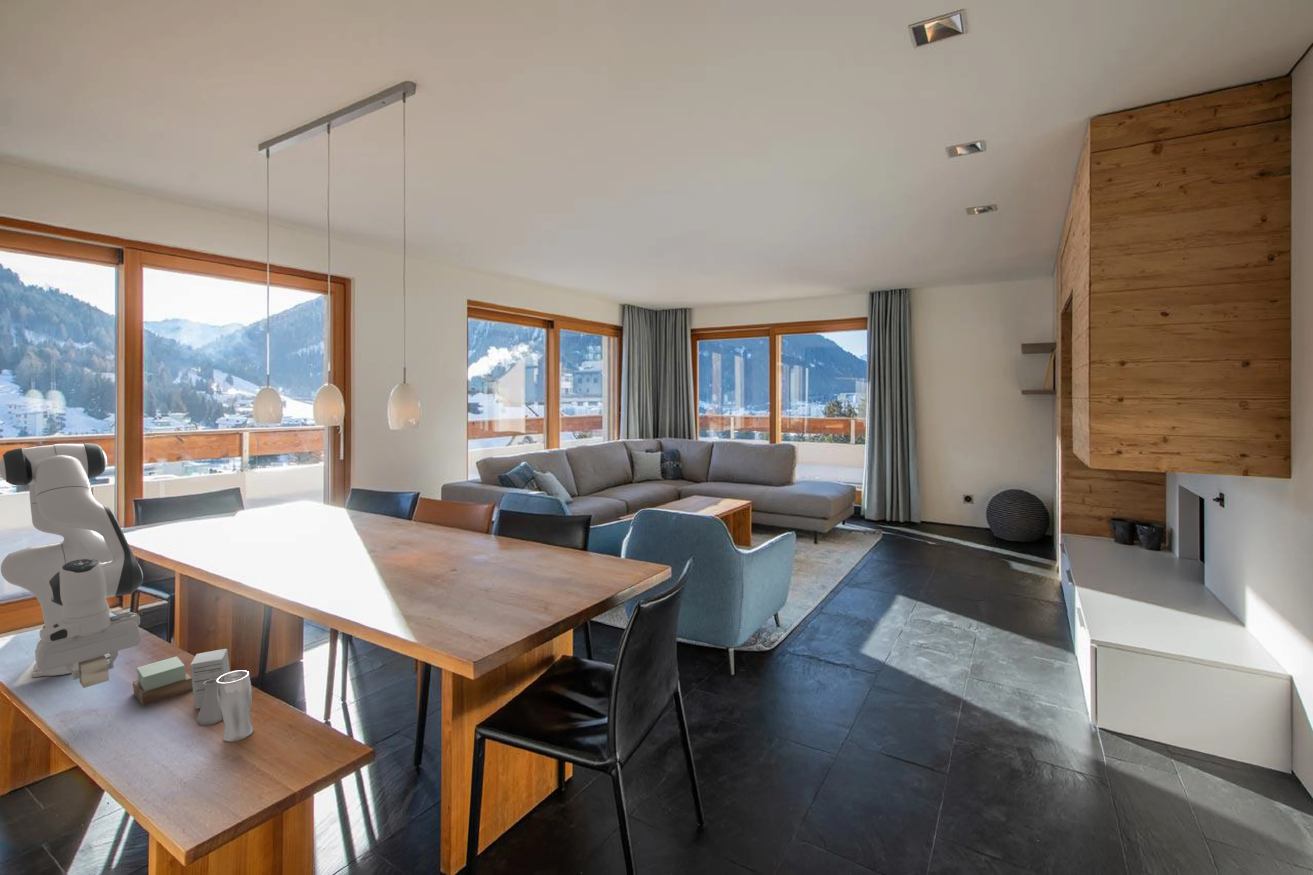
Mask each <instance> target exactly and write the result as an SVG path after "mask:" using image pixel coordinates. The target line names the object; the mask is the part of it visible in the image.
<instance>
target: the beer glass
mask: <svg viewBox="0 0 1313 875" xmlns="http://www.w3.org/2000/svg"><path fill="white" fill-rule="evenodd" d="M252 689H253V688H252V681H251V677H250V672H249V671H247V670H242V669H241V670H233V671H230V673H227V674H224V675H222V676H220V677H219V678H218V679H217V701H218V706H219V709H220V712H221V715H222V718H223V720H222V722H223V727H224V728H223V729H224V730H223V737H222V738H223V741H224V742H227V743H234V742H238V741H242V740H244V739H246V738H248V737H249V736H251V735H252V734H253V732H254V728H253V725H252V720H251V707H252V699H253V698H252V696H253V691H252Z"/></svg>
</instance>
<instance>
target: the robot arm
mask: <svg viewBox="0 0 1313 875" xmlns="http://www.w3.org/2000/svg"><path fill="white" fill-rule="evenodd" d="M107 464H108V458H107V454H106V452H105V451H104V450H103V447H101V446H100V445H99V444H97V443H90V442H88V443H87V442H84V443H56V444H52V445H51V444H50V445H40V446H32V447H28V448H27V447H26V448H22V447H18V448H13V449H10V450H7V451H6V452H5V453H3V454H2V458H0V475H1V477H2V478H3V479H4V480H5V482H6V483H8V484H9V485H12V486H21V487H22V486H27V485H29V505H30V513H31V522H32V525H33V527H34V528H35V529H37V530H38V531H40V532H42V533H46V534H47V533H48V534H51V535H52V534H53V535H57V536H60V537H62V538H63V540H62V541H59V542H55V543H54V542H53V543H47V544H42V545H37V546H36V545H34V546H29V547H26V548H22V549H20V550H17V551H16V550H15V551H12V552H9V553H8V554H7V555H6V556H5V557H4V558H3V560H2V562H1V564H0V574H1V576H2V577H3V578H4V580H5V581H6V582H8V583H9V584H11V585H13V586H17V587H19V588H23V589H24V590H27V591H29V592H30V593H31V594H32V595H33V596H35V598H36V599H37V601H38V603H39V605H40V608H41V612H42V617H43V618H42V619H43V622H44V625H43V627H42V629H40V631H39V638H40V640H38V642H37V645H36V648H35V650H34V654H35V655H34V656H35V657H34V658H35V659H34V660H35V664H34V668H33V671H32V673H31V677H32V678H39V677H44V676H50V677H51V676H61V675H67V674H71V678H72V680H77V679H79V678H81V672H80V670H78V665H77V662H80V661H84V660H87V659H91V658H94V657H98V656H102V655H104V656H105V657H106V658H107V659H108V658H109V659H108V660H107V665H108V671H109V670H112V669H115V668H114V667H115V665H114V663H115V661H116V659H117V657H118V656H119V651H123V650H125V649H130V648H134V647H137V646H139V645H140V644H141V642H142V641H143V640H142V634H141V631H140V628H139V626H140V624H141V616H140V614H138V613H137V612H136V613H135V612H132V611H131V612H126V613H122V614H117V615H113V616H111V611H110V610H111V609H110V605H109V603H108V601H107V598H112V597H120V596H128V595H131V594H133V593H134V592H136V590H138V589H139V588H140V587H141V586H142V584H143V582H144V580H143V579H144V573H143V570H142V567H141V566H140V564H139V563H138V561H137V559H136V558H135V555H134V553H133V552H132V549H131V547H130V545H129V543H128V541H127V539H126V537H125V536H126V535H125V534H124V531H123V529H122V527H121V525H120V523H119V521H118V519H117V517H116V515H115V514H114V512H113V511H112V509H111V508H110V507H109V506H106V505H103V504H101V503H100V502H98V501H97V500H96V498H95V497H94V495H93V493H92V489H91V483H90V479H93V478H94V479H95V478H97V477H99V476H101V475H102V474H103V473H104V472H105V471H106V468H107Z"/></svg>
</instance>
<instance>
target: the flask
mask: <svg viewBox="0 0 1313 875" xmlns="http://www.w3.org/2000/svg"><path fill="white" fill-rule="evenodd" d="M203 685H204V687H205V693H204V699H203V702H202V706H201V708H199V712H198V715H197V717H196V720H195V722H196V724H199V725H201V726H208V725H209V726H210V725H215V724H217V723H219V722H221V721H222V722H223V718H222V715H221V712H220V709H219V706H218V701H217V679H210V680H207V681H205V682H204V683H203Z"/></svg>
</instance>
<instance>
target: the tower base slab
mask: <svg viewBox="0 0 1313 875" xmlns="http://www.w3.org/2000/svg"><path fill="white" fill-rule="evenodd" d="M185 675H186V679H184V680H181V681H178V682H174V683H171V684H168V685H165V686H161V687H158V688H155V689H152V690H148V691H144V689H143V688H142V686H141V685H140V683H139V682H138V679H137V680H133V681H132V688H133V695H134V696H135V697H136V698H137V700H138V701H139V703H141V705H142V706H143V707H147V706H149V705H152V704H155V703H158V702H161V701H163V700H167V699H171V698H172V697H175V696H178V695H182V694H184V693H187V692H188V693H189V692H191V691H193V687H192V677H191V675H190V674H189V673H188V672H187V671H186V670H185Z"/></svg>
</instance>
